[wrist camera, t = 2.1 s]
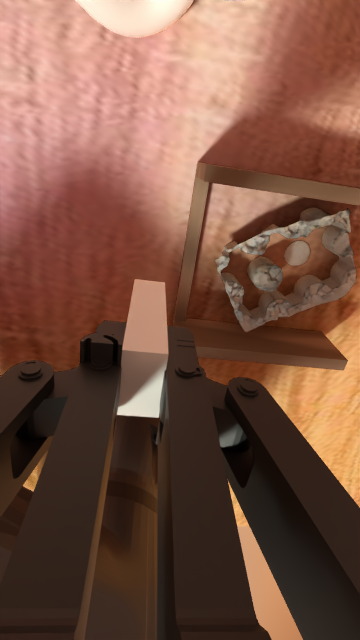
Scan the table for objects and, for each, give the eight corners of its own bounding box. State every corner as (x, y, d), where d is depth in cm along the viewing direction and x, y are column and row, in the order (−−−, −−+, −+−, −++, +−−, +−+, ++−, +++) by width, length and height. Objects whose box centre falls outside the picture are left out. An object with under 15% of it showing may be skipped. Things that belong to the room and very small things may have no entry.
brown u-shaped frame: (318, 340, 33) (343, 370, 29) (172, 326, 31) (175, 355, 27) (374, 190, 27) (418, 198, 23) (197, 161, 25) (206, 164, 21)
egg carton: (330, 196, 27) (358, 202, 24) (343, 277, 31) (368, 294, 27) (206, 243, 28) (214, 257, 25) (231, 317, 32) (242, 339, 28)
